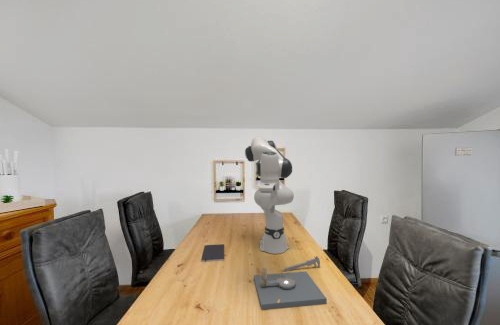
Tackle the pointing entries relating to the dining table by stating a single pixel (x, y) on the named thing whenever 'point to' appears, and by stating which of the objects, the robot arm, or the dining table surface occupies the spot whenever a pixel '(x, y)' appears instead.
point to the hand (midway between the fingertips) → (270, 215)
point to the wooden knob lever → (281, 281)
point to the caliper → (304, 264)
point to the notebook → (213, 253)
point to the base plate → (289, 292)
